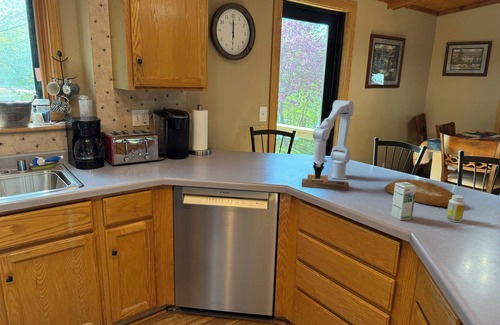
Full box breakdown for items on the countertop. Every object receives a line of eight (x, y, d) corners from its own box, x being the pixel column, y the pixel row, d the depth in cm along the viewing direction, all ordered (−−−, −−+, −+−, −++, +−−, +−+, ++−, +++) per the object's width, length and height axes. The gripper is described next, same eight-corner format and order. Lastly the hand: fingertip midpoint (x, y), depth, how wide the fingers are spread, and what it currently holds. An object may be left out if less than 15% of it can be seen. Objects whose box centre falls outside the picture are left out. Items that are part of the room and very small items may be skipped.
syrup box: (400, 220, 135) (405, 186, 131) (390, 215, 140) (395, 182, 137) (412, 219, 136) (417, 185, 133) (402, 214, 142) (406, 181, 138)
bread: (392, 186, 180) (394, 170, 178) (467, 204, 156) (471, 186, 154) (377, 194, 168) (379, 176, 165) (457, 214, 144) (461, 195, 141)
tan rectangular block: (307, 184, 179) (307, 173, 177) (327, 186, 177) (328, 175, 175) (306, 185, 176) (307, 174, 175) (327, 187, 174) (328, 176, 173)
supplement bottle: (463, 220, 137) (467, 196, 135) (459, 224, 133) (464, 199, 131) (447, 216, 141) (452, 193, 138) (444, 219, 137) (448, 196, 134)
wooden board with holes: (301, 182, 181) (302, 178, 180) (347, 186, 178) (347, 181, 177) (301, 186, 174) (301, 182, 174) (349, 190, 171) (349, 185, 170)
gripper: (327, 155, 164) (325, 181, 168) (327, 149, 178) (325, 174, 181) (313, 154, 166) (311, 180, 169) (314, 148, 180) (312, 172, 183)
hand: (317, 177), depth 175 cm, fingers open, 6 cm apart
